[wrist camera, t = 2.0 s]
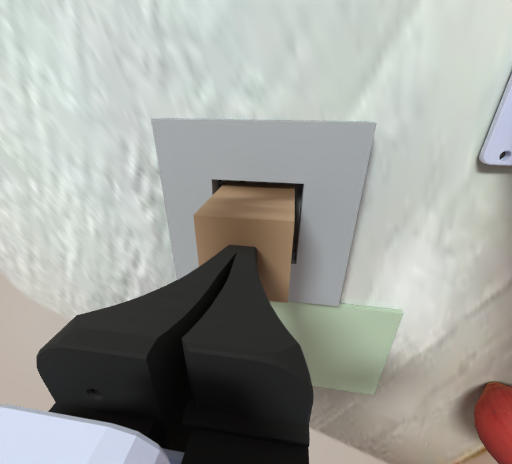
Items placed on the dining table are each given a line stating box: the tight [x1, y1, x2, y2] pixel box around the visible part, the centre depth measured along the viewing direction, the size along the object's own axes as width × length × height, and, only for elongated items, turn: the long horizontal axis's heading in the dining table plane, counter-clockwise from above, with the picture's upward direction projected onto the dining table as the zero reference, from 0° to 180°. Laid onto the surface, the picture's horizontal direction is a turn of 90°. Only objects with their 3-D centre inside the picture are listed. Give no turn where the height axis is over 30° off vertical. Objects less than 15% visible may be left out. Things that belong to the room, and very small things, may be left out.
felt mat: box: [270, 301, 403, 395], centre depth 21 cm, size 10×10×1 cm
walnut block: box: [193, 181, 295, 303], centre depth 14 cm, size 4×4×6 cm
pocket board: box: [151, 118, 376, 307], centre depth 16 cm, size 12×12×2 cm
